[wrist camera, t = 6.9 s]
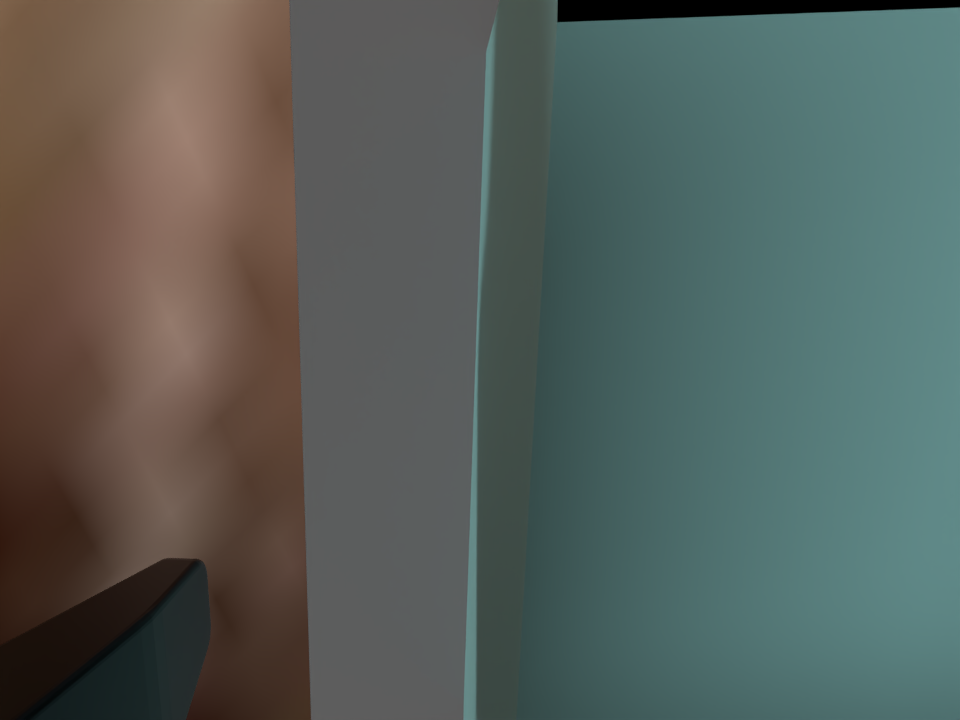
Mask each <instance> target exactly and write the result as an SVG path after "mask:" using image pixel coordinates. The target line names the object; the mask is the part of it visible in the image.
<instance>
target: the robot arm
mask: <svg viewBox="0 0 960 720" xmlns="http://www.w3.org/2000/svg"><path fill="white" fill-rule="evenodd" d="M210 630H211V622H210V608H209V594H208V579H207V570H206V567H205V564H204V563H203V562H202V561H201V560H199V559H184V558H167V559H163V560H161V561H159V562H157V563H155V564H153V565H151V566H150V567H148V568H146V569H144V570H142V571H140V572H138V573H136V574H134V575H133V576H131V577H129V578H127V579H125V580H123V581H121V582H119V583H117V584H116V585H114V586H112V587H110V588H108V589H106V590H104V591H102V592H100V593H99V594H97V595H95V596H93V597H91V598H89V599H87V600H85V601H83V602H81V603H80V604H78V605H76V606H74V607H72V608H70V609H68V610H66V611H64V612H63V613H61V614H59V615H57V616H55V617H53V618H51V619H49V620H47V621H46V622H44V623H42V624H40V625H38V626H36V627H34V628H32V629H30V630H29V631H27V632H25V633H23V634H21V635H19V636H17V637H15V638H13V639H12V640H10V641H8V642H6V643H4V644H2V645H0V720H186V717H187V714H188V711H189V708H190V704H191V701H192V698H193V695H194V691H195V688H196V685H197V682H198V678H199V675H200V672H201V669H202V665H203V662H204V659H205V656H206V652H207V649H208V645H209V640H210Z"/></svg>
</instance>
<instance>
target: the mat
mask: <svg viewBox="0 0 960 720" xmlns="http://www.w3.org/2000/svg"><path fill="white" fill-rule="evenodd" d="M289 1H290V34H291V67H292V101H293V134H294V167H295V200H296V233H297V266H298V299H299V332H300V365H301V398H302V431H303V464H304V497H305V531H306V564H307V597H308V630H309V663H310V696H311V720H463V718H464V679H465V650H466V621H467V592H468V563H469V534H470V505H471V476H472V447H473V418H474V389H475V361H476V332H477V303H478V274H479V245H480V216H481V187H482V158H483V129H484V100H485V71H486V50H487V47H488V43H489V39H490V35H491V31H492V27H493V24H494V20H495V16H496V12H497V8H498V4H499V1H500V0H289Z"/></svg>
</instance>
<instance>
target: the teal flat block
mask: <svg viewBox="0 0 960 720" xmlns="http://www.w3.org/2000/svg"><path fill="white" fill-rule="evenodd" d="M463 720H960V0H500V1H499V4H498V8H497V12H496V16H495V20H494V24H493V27H492V31H491V35H490V39H489V43H488V47H487V50H486V71H485V100H484V129H483V158H482V187H481V216H480V245H479V274H478V303H477V332H476V361H475V389H474V418H473V447H472V476H471V505H470V534H469V563H468V592H467V621H466V650H465V679H464V718H463Z"/></svg>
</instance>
